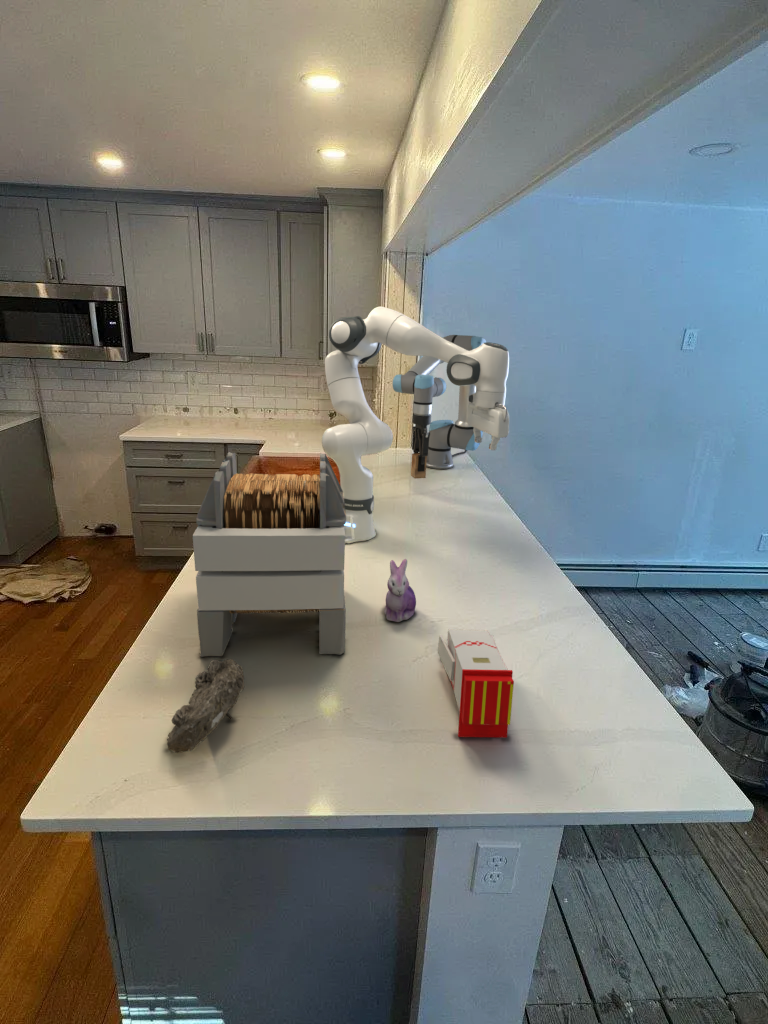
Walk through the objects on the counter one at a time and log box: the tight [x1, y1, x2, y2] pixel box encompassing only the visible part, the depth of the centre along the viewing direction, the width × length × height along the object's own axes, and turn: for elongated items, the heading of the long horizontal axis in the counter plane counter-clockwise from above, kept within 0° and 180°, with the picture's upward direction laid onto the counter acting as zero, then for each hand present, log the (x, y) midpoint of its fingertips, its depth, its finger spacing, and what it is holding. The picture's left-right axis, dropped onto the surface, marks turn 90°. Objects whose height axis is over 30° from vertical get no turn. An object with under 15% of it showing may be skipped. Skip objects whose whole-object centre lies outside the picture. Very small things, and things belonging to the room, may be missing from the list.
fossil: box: [166, 658, 245, 754], centre depth 106 cm, size 22×10×15 cm
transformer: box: [192, 452, 347, 658], centre depth 136 cm, size 34×33×41 cm
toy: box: [437, 628, 515, 738], centre depth 117 cm, size 12×13×30 cm
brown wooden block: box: [410, 452, 427, 480], centre depth 237 cm, size 5×5×10 cm
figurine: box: [384, 558, 417, 623], centre depth 145 cm, size 9×10×15 cm
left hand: (484, 446), depth 172 cm, fingers open, 8 cm apart
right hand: (418, 469), depth 238 cm, fingers closed on brown wooden block, 5 cm apart
